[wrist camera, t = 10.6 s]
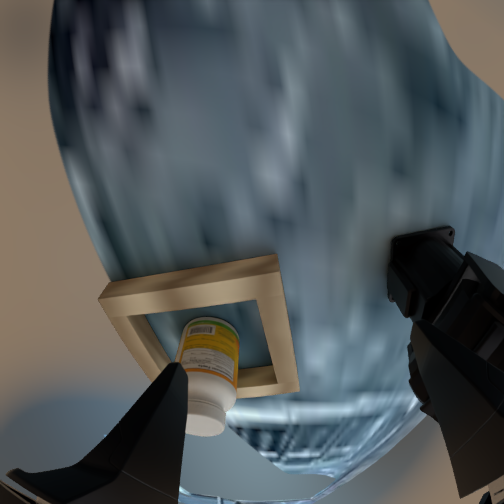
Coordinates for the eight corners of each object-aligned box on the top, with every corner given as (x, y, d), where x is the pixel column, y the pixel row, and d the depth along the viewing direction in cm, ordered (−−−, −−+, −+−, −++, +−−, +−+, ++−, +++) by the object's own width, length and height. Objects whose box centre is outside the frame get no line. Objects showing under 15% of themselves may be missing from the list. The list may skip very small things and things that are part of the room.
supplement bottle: (218, 361, 27) (208, 445, 19) (173, 336, 26) (149, 422, 17) (251, 334, 25) (249, 427, 17) (203, 305, 24) (182, 401, 15)
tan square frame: (277, 253, 21) (279, 271, 19) (297, 372, 28) (299, 391, 26) (109, 282, 23) (97, 299, 21) (169, 383, 30) (165, 400, 28)
